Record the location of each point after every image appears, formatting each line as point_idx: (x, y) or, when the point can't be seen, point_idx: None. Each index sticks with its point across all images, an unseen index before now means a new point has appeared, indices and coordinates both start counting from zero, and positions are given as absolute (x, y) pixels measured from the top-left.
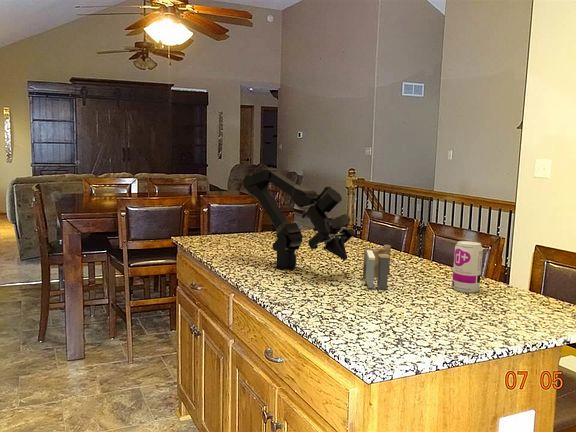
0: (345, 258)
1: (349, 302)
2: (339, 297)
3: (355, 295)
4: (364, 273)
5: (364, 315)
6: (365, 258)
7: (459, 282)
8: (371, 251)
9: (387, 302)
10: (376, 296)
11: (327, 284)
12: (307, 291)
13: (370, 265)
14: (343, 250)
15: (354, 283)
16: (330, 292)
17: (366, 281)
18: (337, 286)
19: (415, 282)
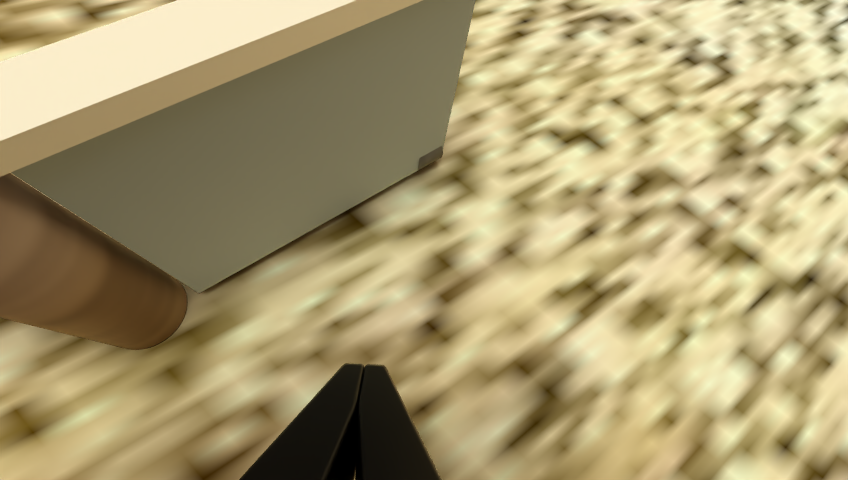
0: (386, 375)
1: (737, 117)
2: (725, 193)
3: (614, 153)
4: (158, 304)
5: (798, 7)
6: (47, 248)
7: None
8: (42, 61)
9: (573, 7)
10: (531, 73)
11: (567, 444)
12: (839, 422)
13: (463, 20)
14: (332, 467)
15: (368, 303)
16: (703, 289)
17: (309, 228)
18: (547, 346)
19: (46, 36)
